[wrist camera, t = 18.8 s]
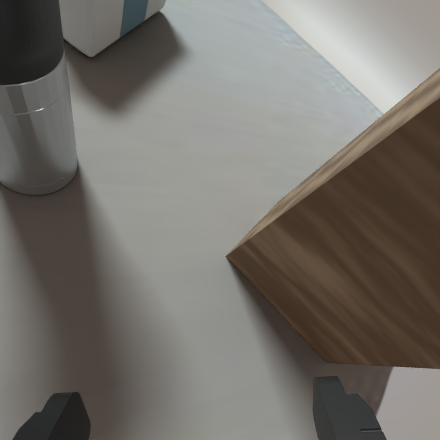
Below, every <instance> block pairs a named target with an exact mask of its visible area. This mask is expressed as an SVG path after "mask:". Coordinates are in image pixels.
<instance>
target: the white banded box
mask: <svg viewBox="0 0 440 440" xmlns="http://www.w3.org/2000/svg"><path fill="white" fill-rule="evenodd" d="M165 1H166V0H59V5H60V15H61V23H62V32H63V38H64V39H65V40H67V41H68V42H69V43H70V44H72V45H73V46H74V47H76V48H77V49H78V50H80V51H81V52H83V53H84V54H85V55H87V56H89V57H93V56H95V55H96V54H98V53H99V52H101V51H102V50H103V49H105V48H106V47H108V46H109V45H111V44H112V43H113V42H115V41H116V40H118V39H119V38H121V37H122V36H123V35H125V34H126V33H128V32H129V31H131V30H132V29H133V28H135V27H136V26H138V25H139V24H141V23H142V22H143V21H145V20H146V19H148V18H149V17H150V16H152V15H153V14H155V13H156V12H158V11H159V10H160V9H162V8H163V6H164V4H165Z"/></svg>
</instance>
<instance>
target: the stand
mask: <svg viewBox="0 0 440 440" xmlns="http://www.w3.org/2000/svg"><path fill="white" fill-rule="evenodd" d="M226 257H227V258H228V259H229V260H230V261H231V262H232V263H233V264H234V265H235V266H236V267H237V268H238V269H239V271H240V272H241V273H242V274H243V275H244V276H245V277H246V278H247V279H248V280H249V281H250V282H251V283H252V284H253V285H254V286H255V287H256V288H257V289H258V291H259V292H260V293H261V294H262V295H263V296H264V297H265V298H266V299H267V300H268V301H269V302H270V303H271V304H272V305H273V306H274V307H275V308H276V309H277V310H278V312H279V313H280V314H281V315H282V316H283V317H284V318H285V319H286V320H287V321H288V322H289V323H290V324H291V325H292V326H293V327H294V328H295V329H296V330H297V332H298V333H299V334H300V335H301V336H302V337H303V338H304V339H305V340H306V341H307V342H308V343H309V344H310V345H311V346H312V347H313V348H314V349H315V350H316V351H317V353H318V354H319V355H320V356H321V357H322V358H323V359H324V360H325V361H326V362H327V363H341V364H359V365H377V366H395V367H415V368H432V369H440V69H438V70H437V71H436V72H435V73H434V74H432V75H431V76H430V77H429V78H427V79H426V80H425V81H424V82H423V83H421V84H420V85H419V86H418V87H417V88H415V89H414V90H413V91H412V92H411V93H409V94H408V95H407V96H406V97H404V98H403V99H402V100H401V101H400V102H398V103H397V104H396V105H395V106H394V107H392V108H391V109H390V110H389V111H388V112H386V113H385V114H384V115H383V116H382V117H380V118H379V119H378V120H377V121H375V122H374V123H373V124H372V125H371V126H369V127H368V128H367V129H366V130H365V131H363V132H362V133H361V134H360V135H359V136H357V137H356V138H355V139H354V140H353V141H351V142H350V143H349V144H348V145H346V146H345V147H344V148H343V149H342V150H340V151H339V152H338V153H337V154H336V155H334V156H333V157H332V158H331V159H330V160H328V161H327V162H326V163H325V164H324V165H322V166H321V167H320V168H319V169H317V170H316V171H315V172H314V173H313V174H311V175H310V176H309V177H308V178H307V179H305V180H304V181H303V182H302V183H301V184H299V185H298V186H297V187H296V188H295V189H293V190H292V191H291V192H290V193H289V194H287V195H286V196H285V197H284V198H282V199H281V200H280V201H279V202H278V203H277V204H276V205H275V206H274V207H273V208H272V209H271V210H270V211H269V212H268V213H267V214H266V215H265V216H264V217H263V218H262V219H261V221H260V222H259V223H258V224H257V225H256V226H255V227H254V228H253V229H252V230H251V231H250V232H249V233H248V234H247V235H246V236H245V237H244V238H243V239H242V240H241V241H240V242H239V243H238V244H237V245H236V246H235V247H234V248H233V249H232V250H231V251H230V252H229V254H228V255H227V256H226Z"/></svg>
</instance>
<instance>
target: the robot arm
mask: <svg viewBox="0 0 440 440" xmlns="http://www.w3.org/2000/svg"><path fill="white" fill-rule="evenodd" d="M77 165H78V162H77V153H76V142H75V133H74V124H73V116H72V107H71V98H70V89H69V80H68V73H67V65H66V56H65V47H64V40H63V32H62V23H61V15H60V5H59V0H0V182H1V183H2V184H3V185H4V186H6V187H8V188H9V189H11V190H13V191H16V192H19V193H22V194H28V195H42V194H49V193H52V192H55V191H57V190H59V189H61V188H63V187H64V186H66V185H67V184H68V183H69V182H70V181H71V180H72V179H73V177H74V176H75V173H76V171H77ZM313 416H314V422H315V427H316V431H317V435H318V438H319V440H386V437H385V435H384V433H383V432H382V431H381V427H380V425H379V423H378V421H377V419H376V417H375V414H374V412H373V410H372V409H371V408H370V407H369V406H368V405H367V403H366V402H365V401H364V400H363V399H362V398H361V397H360V396H359V395H358V394H352V395H346V394H345V392H344V389H343V387H342V384H341V382H340V380H339V378H338V377H337V376H332V377H315V378H314V380H313ZM89 435H90V420H89V418H88V415H87V412H86V410H85V407H84V404H83V401H82V399H81V396H80V394H79V393H78V392H68V393H55V394H53V395H52V396H51V397H50V398H49V400H48V401H47V403H46V405H45V406H44V408H43V410H42V411H41V412H36V413H34V414H33V416H32V417H31V418H30V419H29V420H28V421H27V422H26V423H25V424H24V425H23V426H22V427H21V428H20V429H19V430H18V432H17V433H16V435H15V436H14V438H13V440H88V439H89Z"/></svg>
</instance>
